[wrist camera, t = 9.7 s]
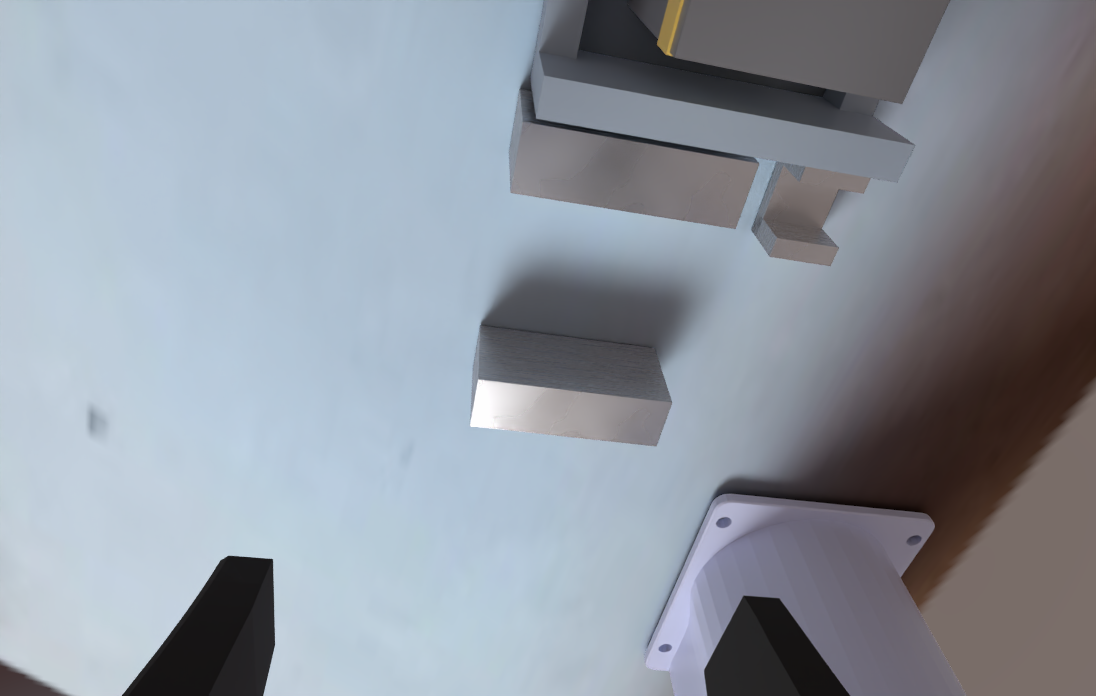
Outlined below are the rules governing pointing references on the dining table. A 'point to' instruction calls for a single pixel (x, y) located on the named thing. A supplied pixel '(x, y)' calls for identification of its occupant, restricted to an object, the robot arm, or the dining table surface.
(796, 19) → the block
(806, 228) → the clip
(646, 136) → the holder
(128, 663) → the dining table surface
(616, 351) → the brushed metal block
